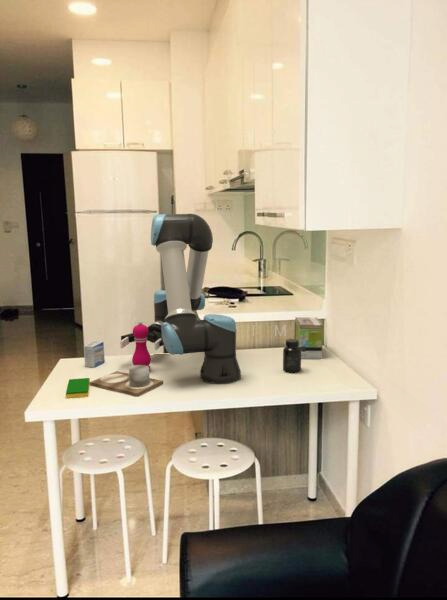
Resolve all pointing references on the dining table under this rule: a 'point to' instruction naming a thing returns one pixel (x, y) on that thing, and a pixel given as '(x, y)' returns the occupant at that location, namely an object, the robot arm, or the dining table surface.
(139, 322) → the pepper mill
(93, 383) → the board
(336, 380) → the dining table surface
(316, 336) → the tea box
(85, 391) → the dish sponge
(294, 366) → the supplement bottle
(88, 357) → the medicine box
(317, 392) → the dining table surface
